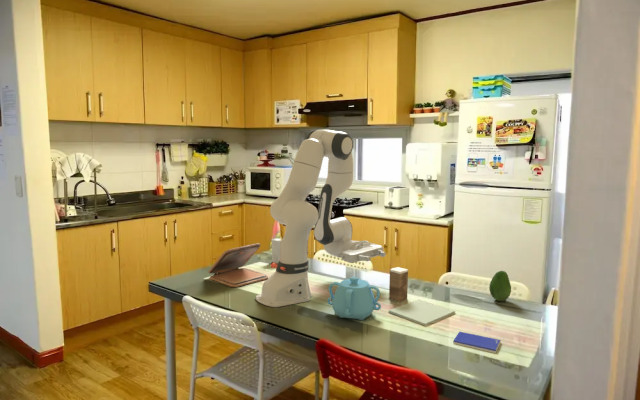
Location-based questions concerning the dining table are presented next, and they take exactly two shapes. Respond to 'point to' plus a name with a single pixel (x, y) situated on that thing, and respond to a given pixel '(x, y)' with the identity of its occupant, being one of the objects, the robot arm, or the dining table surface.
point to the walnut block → (398, 284)
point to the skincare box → (276, 250)
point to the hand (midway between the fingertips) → (376, 256)
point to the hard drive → (477, 342)
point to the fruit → (500, 286)
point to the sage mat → (422, 312)
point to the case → (236, 267)
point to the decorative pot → (353, 298)
